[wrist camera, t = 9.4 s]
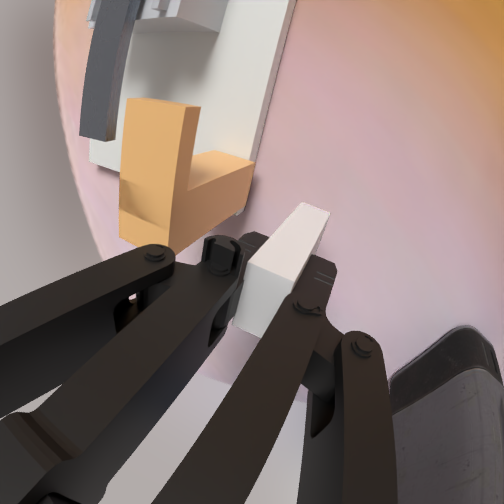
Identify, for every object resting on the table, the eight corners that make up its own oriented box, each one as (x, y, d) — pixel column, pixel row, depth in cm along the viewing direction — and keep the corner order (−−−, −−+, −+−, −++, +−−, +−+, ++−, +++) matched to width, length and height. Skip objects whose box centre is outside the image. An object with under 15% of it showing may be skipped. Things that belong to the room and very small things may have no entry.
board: (145, -64, 12) (82, -86, 6) (319, -83, 8) (282, -147, 2) (98, 158, 25) (29, 181, 18) (243, 210, 21) (177, 260, 14)
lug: (224, 98, 16) (126, 98, 10) (268, 108, 16) (185, 107, 9) (206, 191, 20) (119, 236, 13) (245, 205, 19) (166, 261, 12)
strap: (137, -79, 7) (126, -84, 6) (190, -95, 6) (179, -102, 5) (84, 131, 16) (70, 134, 15) (126, 141, 15) (111, 144, 14)
